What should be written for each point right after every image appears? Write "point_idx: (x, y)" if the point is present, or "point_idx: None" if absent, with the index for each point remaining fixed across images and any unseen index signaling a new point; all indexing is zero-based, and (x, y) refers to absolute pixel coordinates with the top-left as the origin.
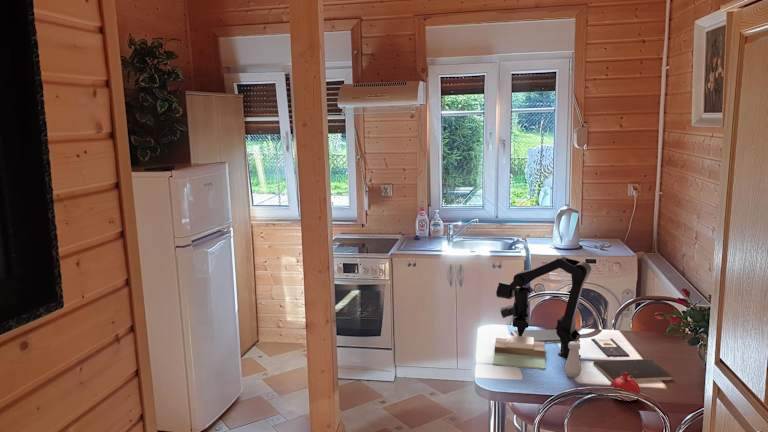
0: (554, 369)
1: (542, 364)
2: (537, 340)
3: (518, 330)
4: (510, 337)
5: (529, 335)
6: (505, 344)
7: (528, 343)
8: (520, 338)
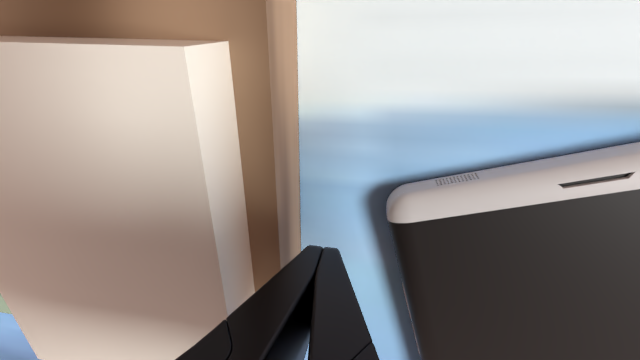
0: (8, 337)
1: (2, 300)
2: (428, 358)
3: (236, 321)
4: (96, 122)
5: (581, 323)
6: (30, 24)
7: (30, 321)
8: (135, 265)
